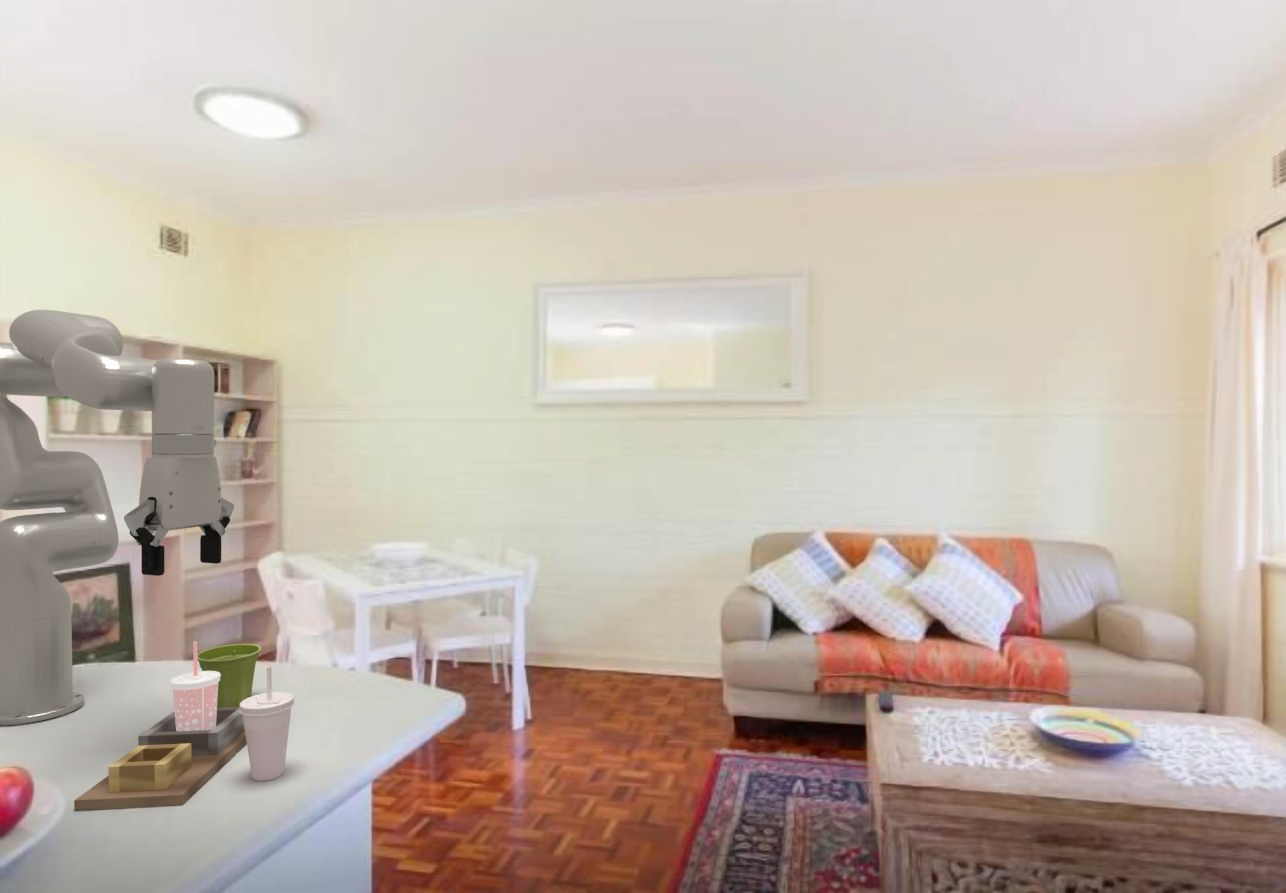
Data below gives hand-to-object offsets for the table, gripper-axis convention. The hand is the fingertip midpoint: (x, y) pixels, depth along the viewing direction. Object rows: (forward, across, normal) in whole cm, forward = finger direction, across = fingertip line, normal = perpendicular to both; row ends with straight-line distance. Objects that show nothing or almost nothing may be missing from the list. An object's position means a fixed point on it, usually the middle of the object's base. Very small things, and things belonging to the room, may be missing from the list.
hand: (183, 568), depth 107 cm
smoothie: (+25, +5, +19) cm, 32 cm away
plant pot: (+26, -16, -7) cm, 31 cm away
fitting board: (+25, +6, +5) cm, 26 cm away
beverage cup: (+24, +1, +3) cm, 24 cm away
